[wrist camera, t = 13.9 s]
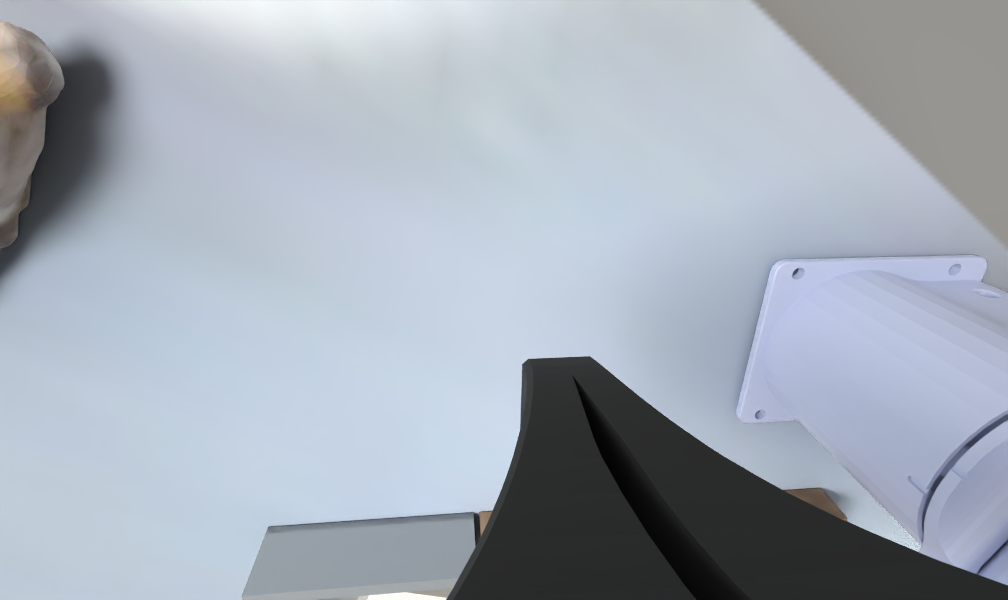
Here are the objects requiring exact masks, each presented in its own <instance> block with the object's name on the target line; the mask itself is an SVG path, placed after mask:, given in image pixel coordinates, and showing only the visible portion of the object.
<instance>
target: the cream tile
mask: <svg viewBox="0 0 1008 600" xmlns="http://www.w3.org/2000/svg"><path fill="white" fill-rule="evenodd" d="M452 589H453V588H449V589H437V590H426V591H414V592H402V593H390V594H379V595H367V596H359V597H358V600H446V599H447V597H448V596H449V594H450V592H451V591H452Z"/></svg>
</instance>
